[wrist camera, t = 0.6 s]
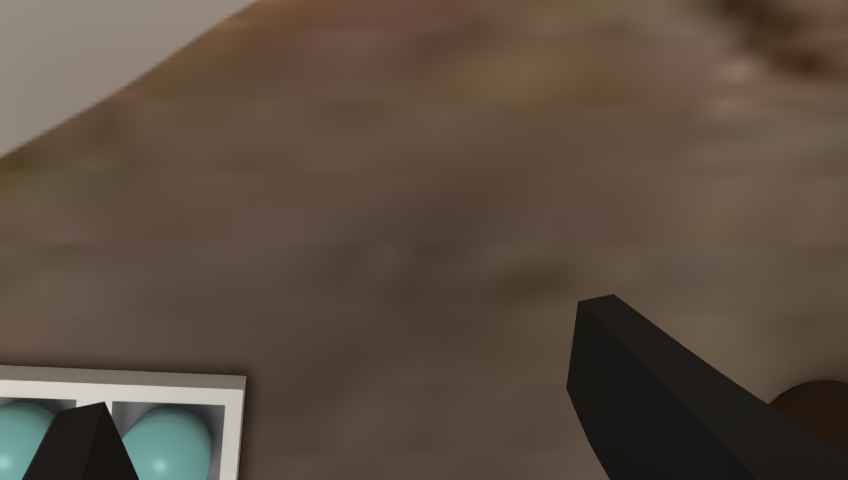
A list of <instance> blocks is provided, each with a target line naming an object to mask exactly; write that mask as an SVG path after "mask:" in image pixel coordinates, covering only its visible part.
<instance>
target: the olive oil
mask: <svg viewBox="0 0 848 480" xmlns="http://www.w3.org/2000/svg"><path fill="white" fill-rule="evenodd" d="M771 407H773V408H775V409H776V410H778V411H779V412H781V413H783V414H784V415H786V416H787V417H789V418H790V419H792V420H794V421H795V422H797V423H798V424H800V425H802V426H803V427H805V428H807V429H808V430H810V431H812V432H814V433H815V434H817V435H819V436H820V437H822V438H824V439H826V440H827V441H829V442H831V443H833V444H835V445H836V446H838V447H840V448H842V449H844V450H846V451H847V452H848V384H846V383H842V382H835V381H818V382H812V383H808V384H804V385H801V386H799V387H797V388H794V389H792V390H791V391H789V392H787V393H786V394H784V395H783V396H781V397H780V398H779V399H778V400H776V401H775V402H774V403H773V404H772V405H771Z"/></svg>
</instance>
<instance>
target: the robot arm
mask: <svg viewBox="0 0 848 480" xmlns="http://www.w3.org/2000/svg"><path fill="white" fill-rule="evenodd" d="M566 389H567V391H568V393H569V396H570V398H571V401H572V403H573V406H574V408H575V411H576V413H577V416H578V418H579V420H580V423H581V425H582V427H583V429H584V432H585V434H586V436H587V439H588V441H589V443H590V445H591V447H592V449H593V451H594V452H595V454H596V456H597V458H598V460H599V461H600V463H601V465H602V467H603V468H604V470H605V472H606V473H607V475H608V477H609V479H610V480H848V452H847V451H846V450H844V449H842V448H840V447H838V446H836V445H835V444H833V443H831V442H829V441H827V440H826V439H824V438H822V437H820V436H819V435H817V434H815V433H814V432H812V431H810V430H808V429H807V428H805V427H803V426H802V425H800V424H798V423H797V422H795V421H794V420H792V419H790V418H789V417H787V416H786V415H784V414H783V413H781V412H779V411H778V410H776V409H775V408H773V407H771V406H770V405H768V404H767V403H765V402H764V401H762V400H760V399H759V398H757V397H756V396H754V395H753V394H751V393H750V392H748V391H747V390H745V389H744V388H742V387H741V386H739V385H738V384H736V383H735V382H733V381H732V380H731V379H729V378H728V377H726V376H725V375H723V374H722V373H720V372H719V371H718V370H716V369H715V368H713V367H712V366H710V365H709V364H708V363H706V362H705V361H703V360H702V359H701V358H699V357H698V356H696V355H695V354H694V353H692V352H691V351H690V350H688V349H687V348H685V347H684V346H683V345H681V344H680V343H679V342H677V341H676V340H675V339H673V338H672V337H670V336H669V335H668V334H666V333H665V332H664V331H662V330H661V329H660V328H658V327H657V326H656V325H654V324H653V323H652V322H650V321H649V320H648V319H646V318H645V317H644V316H642V315H641V314H640V313H638V312H637V311H636V310H634V309H633V308H632V307H630V306H629V305H628V304H626V303H625V302H623V301H622V300H621V299H619V298H618V297H616V296H615V295H614V294H612V295H607V296H602V297H598V298H593V299H588V300H583V301H579V302H578V307H577V314H576V322H575V329H574V336H573V343H572V351H571V358H570V365H569V373H568V380H567V387H566ZM22 480H139V477H138V475H137V473H136V471H135V468H134V466H133V464H132V462H131V459H130V457H129V455H128V453H127V450H126V448H125V446H124V444H123V441H122V439H121V437H120V435H119V432H118V430H117V428H116V426H115V423H114V421H113V419H112V417H111V414H110V412H109V410H108V408H107V405H106V403H105V401H104V402H99V403H94V404H90V405H85V406H80V407H75V408H71V409H66V410H61V411H59V412H58V413H57V414H56V415H55V416H54V418H53V419H52V421H51V423H50V425H49V427H48V429H47V431H46V433H45V435H44V437H43V439H42V441H41V443H40V445H39V447H38V449H37V451H36V453H35V455H34V457H33V459H32V461H31V463H30V465H29V467H28V468H27V470H26V472H25V474H24V476H23V478H22Z"/></svg>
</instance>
